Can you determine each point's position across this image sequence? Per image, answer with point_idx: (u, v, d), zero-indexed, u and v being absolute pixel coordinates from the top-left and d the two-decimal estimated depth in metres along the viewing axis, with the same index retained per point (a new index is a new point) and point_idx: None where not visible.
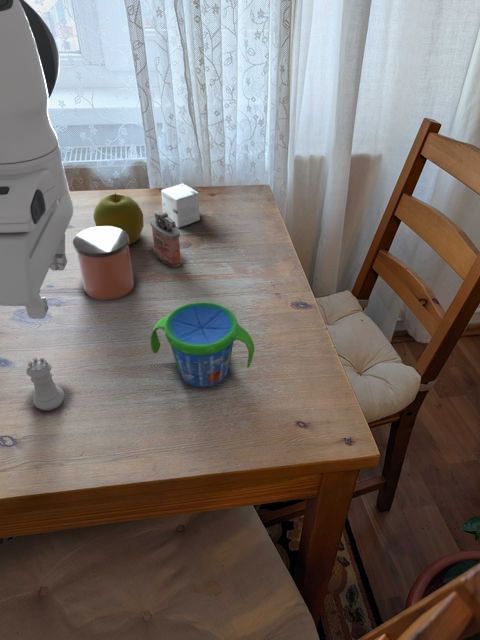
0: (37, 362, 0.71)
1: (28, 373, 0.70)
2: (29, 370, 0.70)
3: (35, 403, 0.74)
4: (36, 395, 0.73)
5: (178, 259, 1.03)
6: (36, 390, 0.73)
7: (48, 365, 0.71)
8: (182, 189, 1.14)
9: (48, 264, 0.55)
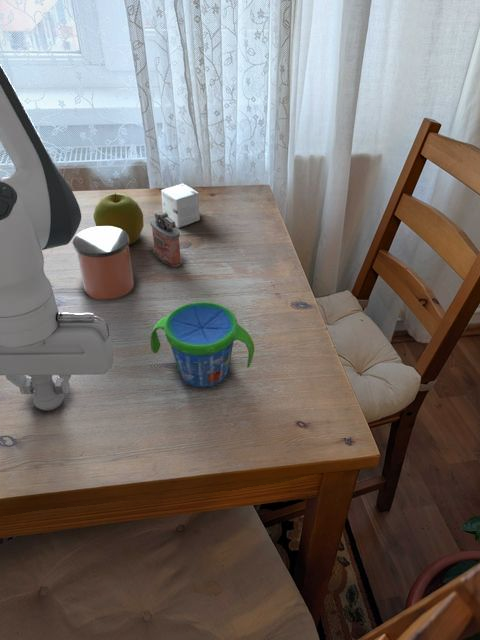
0: None
1: None
2: None
3: (35, 403, 0.74)
4: (36, 395, 0.73)
5: (178, 259, 1.03)
6: (36, 390, 0.73)
7: None
8: (182, 189, 1.14)
9: (8, 372, 0.69)
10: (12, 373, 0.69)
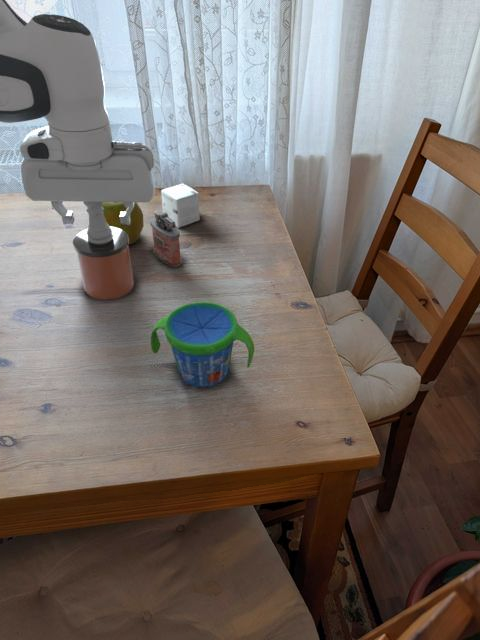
0: None
1: (85, 203, 0.85)
2: None
3: (89, 234, 0.88)
4: (90, 227, 0.88)
5: (178, 259, 1.03)
6: (90, 222, 0.88)
7: None
8: (182, 189, 1.14)
9: (69, 197, 0.84)
10: (72, 198, 0.84)
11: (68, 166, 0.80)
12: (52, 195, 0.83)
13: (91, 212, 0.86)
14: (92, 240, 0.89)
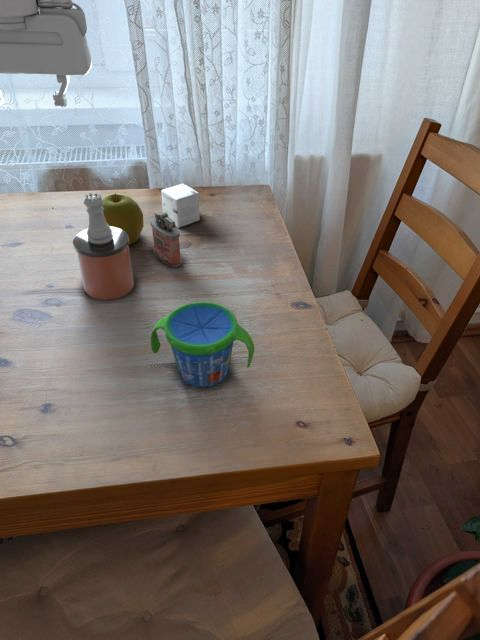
0: (92, 196, 0.86)
1: (85, 203, 0.85)
2: (86, 200, 0.85)
3: (89, 234, 0.88)
4: (90, 227, 0.88)
5: (178, 259, 1.03)
6: (90, 222, 0.88)
7: (101, 198, 0.86)
8: (182, 189, 1.14)
9: None
10: None
11: None
12: None
13: (91, 212, 0.86)
14: (92, 240, 0.89)
